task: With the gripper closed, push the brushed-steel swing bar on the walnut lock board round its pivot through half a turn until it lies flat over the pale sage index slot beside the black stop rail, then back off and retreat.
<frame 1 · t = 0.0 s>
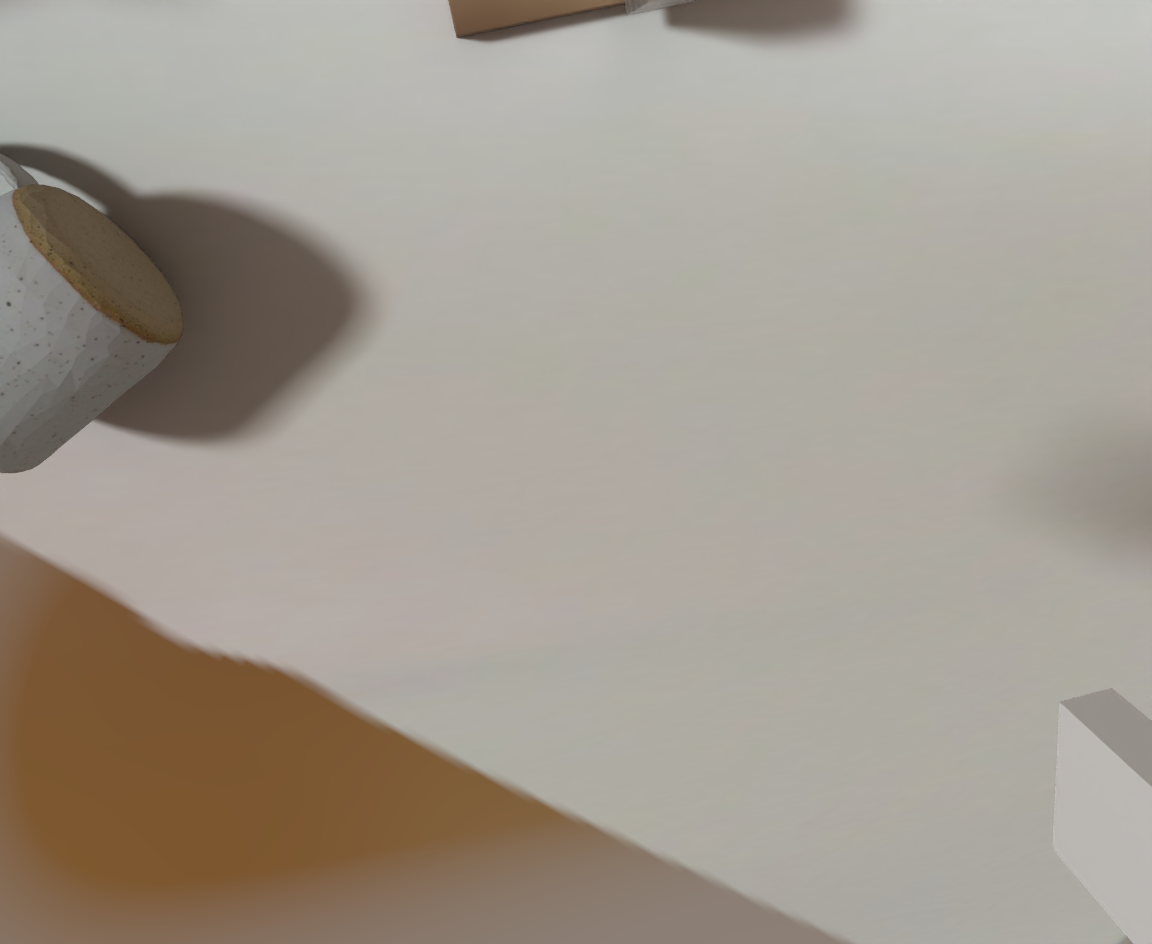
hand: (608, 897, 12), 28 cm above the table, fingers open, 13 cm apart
ceramic mug: (40, 281, 34), on the table
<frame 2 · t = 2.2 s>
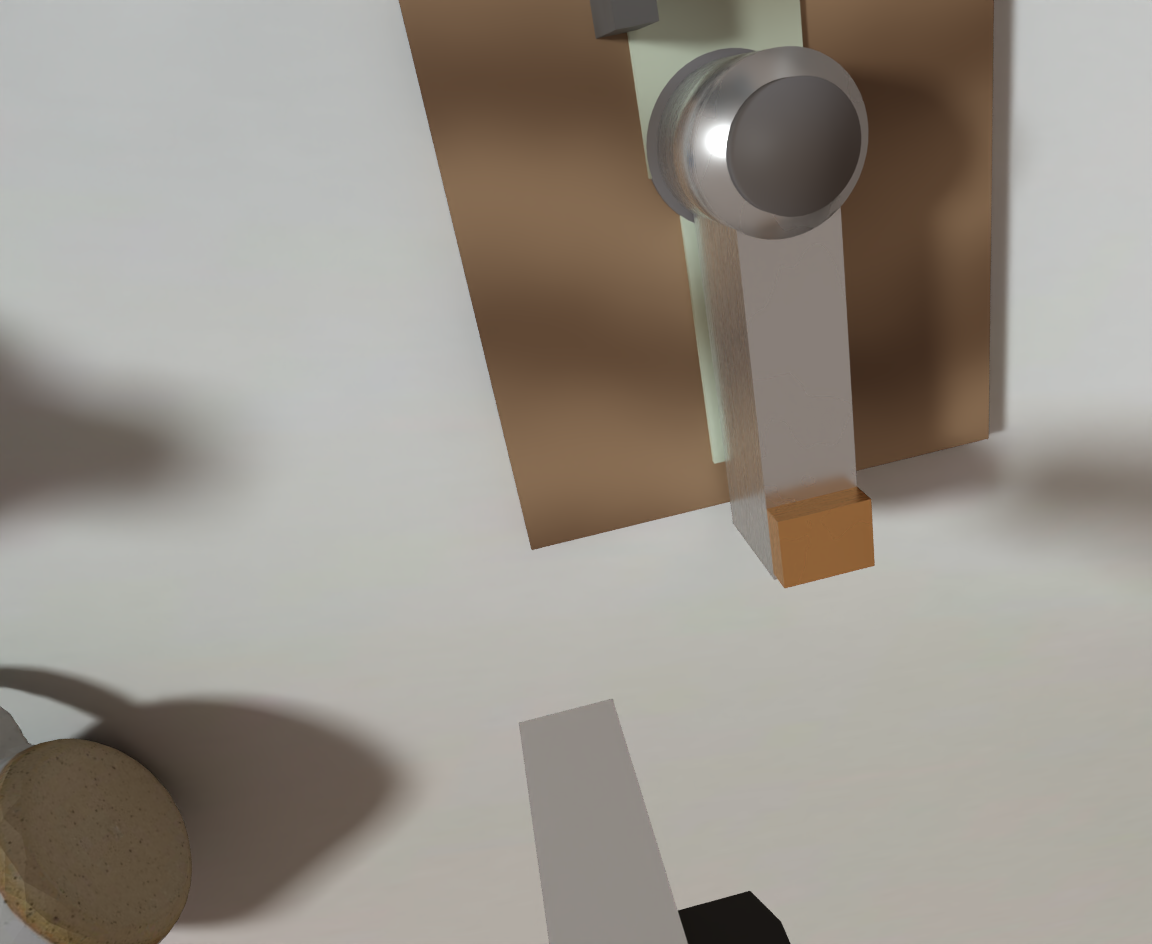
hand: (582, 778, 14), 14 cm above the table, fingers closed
swing bar: (778, 328, 22), point 4 cm above the table, hinge at 0.0°
ceramic mug: (22, 790, 28), on the table
lock board: (707, 81, 23), on the table
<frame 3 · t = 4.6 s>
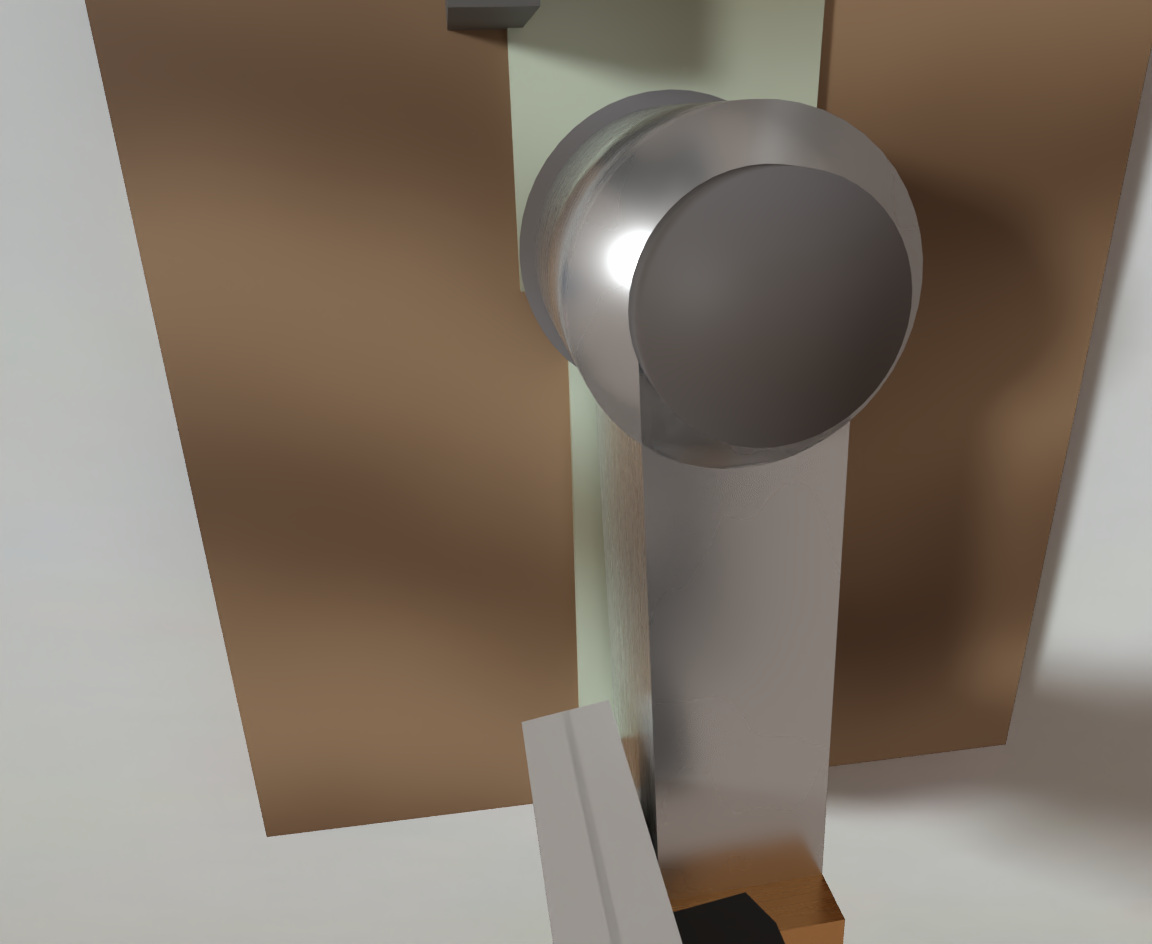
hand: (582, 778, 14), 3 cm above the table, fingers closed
swing bar: (714, 592, 12), point 4 cm above the table, hinge at 2.4°, touching gripper
lock board: (649, 141, 13), on the table
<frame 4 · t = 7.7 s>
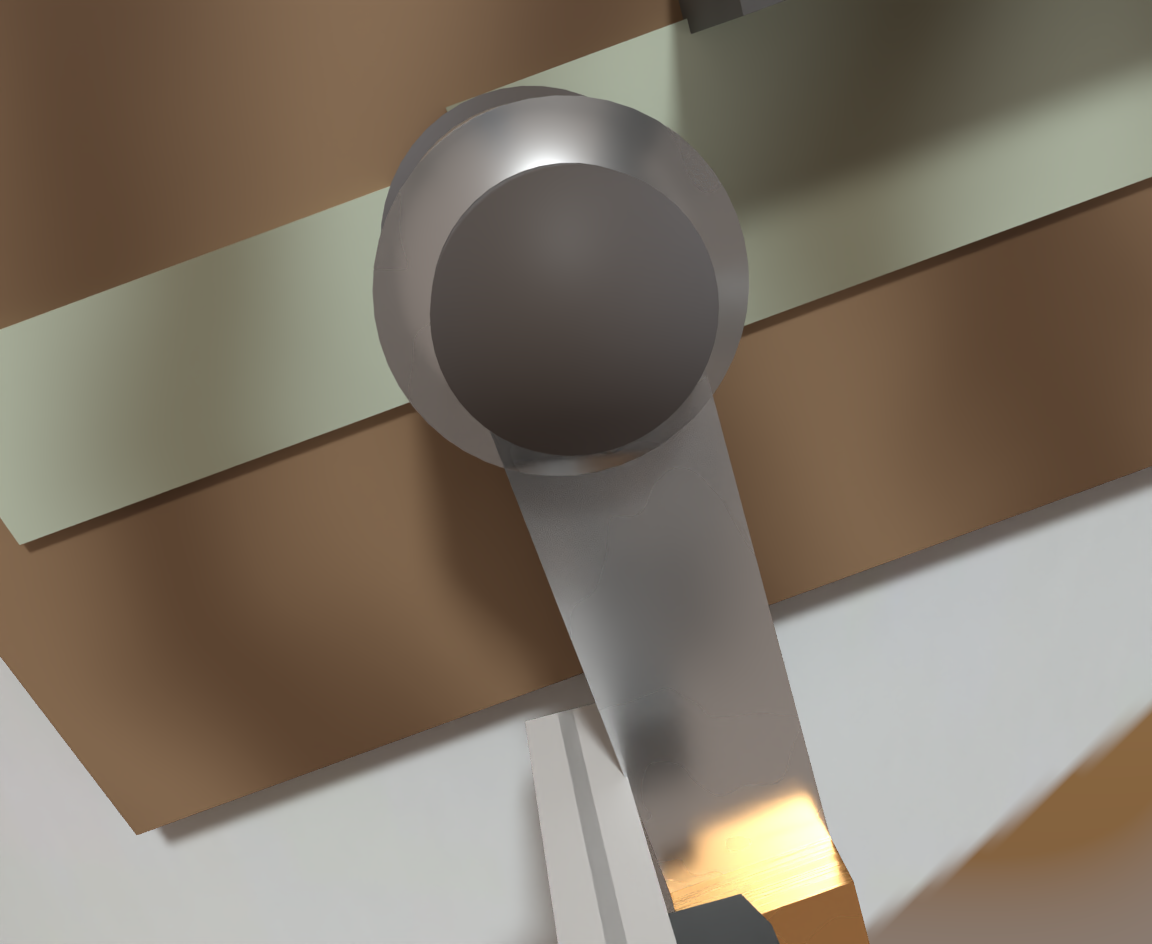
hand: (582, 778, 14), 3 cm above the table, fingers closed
swing bar: (652, 582, 12), point 4 cm above the table, hinge at 89.3°, touching gripper
lock board: (616, 207, 14), on the table
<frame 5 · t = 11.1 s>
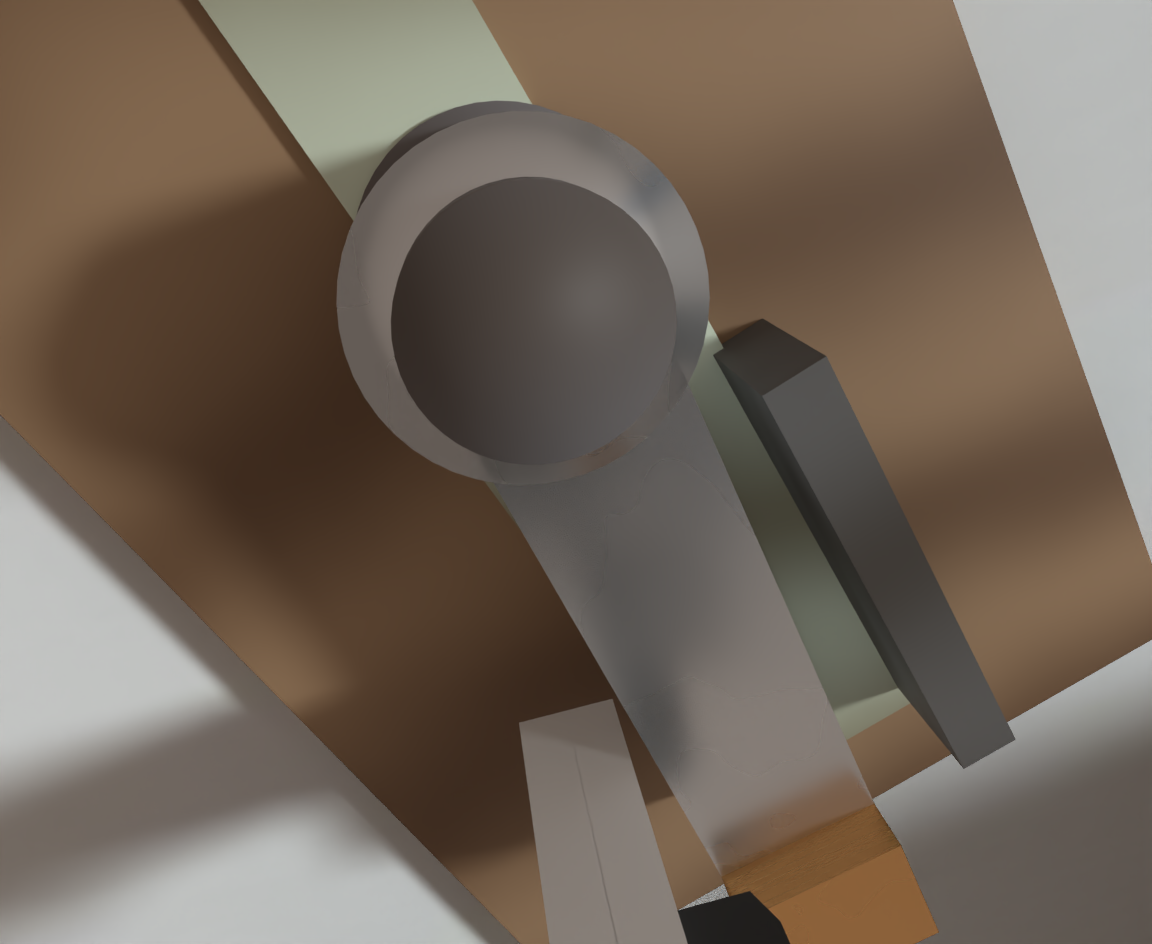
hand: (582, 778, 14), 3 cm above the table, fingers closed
swing bar: (662, 573, 12), point 4 cm above the table, hinge at 174.3°
lock board: (549, 328, 14), on the table
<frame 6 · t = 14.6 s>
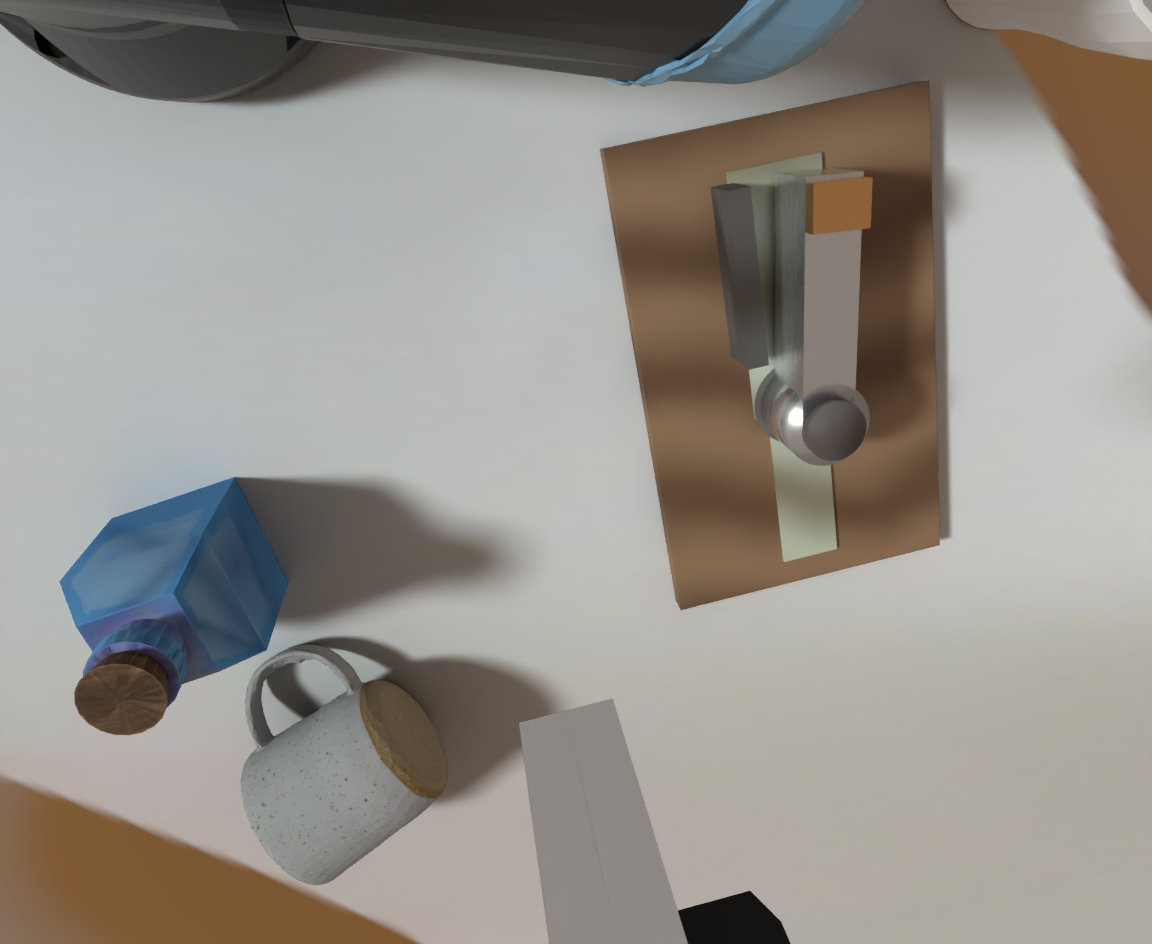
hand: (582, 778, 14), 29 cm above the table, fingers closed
perfume bottle: (203, 549, 43), on the table
swing bar: (818, 323, 39), point 4 cm above the table, hinge at 174.3°
ceramic mug: (337, 713, 47), on the table
lock board: (784, 366, 43), on the table
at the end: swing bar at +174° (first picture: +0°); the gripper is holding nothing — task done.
